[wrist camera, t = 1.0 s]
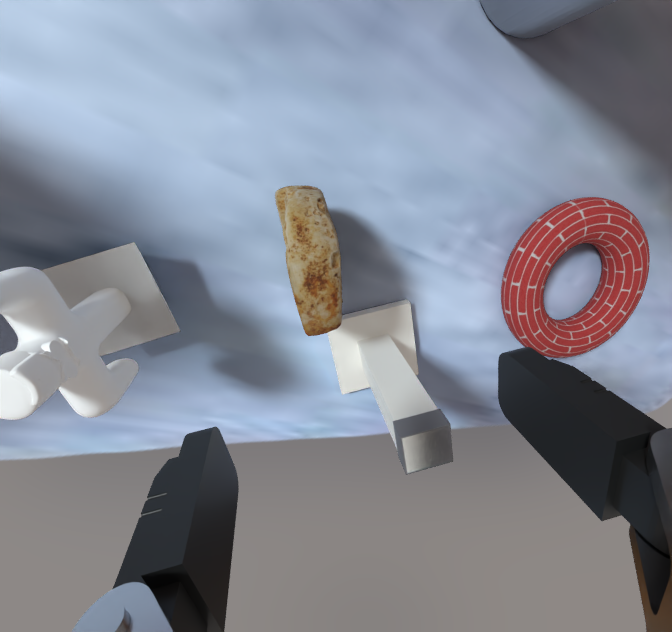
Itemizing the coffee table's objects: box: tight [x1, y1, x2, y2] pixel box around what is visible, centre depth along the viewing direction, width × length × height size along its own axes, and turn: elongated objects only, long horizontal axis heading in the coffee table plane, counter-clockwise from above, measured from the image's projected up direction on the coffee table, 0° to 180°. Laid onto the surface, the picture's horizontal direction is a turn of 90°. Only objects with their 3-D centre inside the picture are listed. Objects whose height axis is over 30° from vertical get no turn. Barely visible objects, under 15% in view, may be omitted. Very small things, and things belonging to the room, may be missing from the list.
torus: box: [501, 197, 649, 358], centre depth 34 cm, size 16×14×4 cm
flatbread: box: [275, 186, 343, 336], centre depth 26 cm, size 10×4×10 cm, turn 7°
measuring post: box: [328, 299, 453, 475], centre depth 29 cm, size 8×8×14 cm
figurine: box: [0, 242, 181, 420], centre depth 22 cm, size 7×9×15 cm
